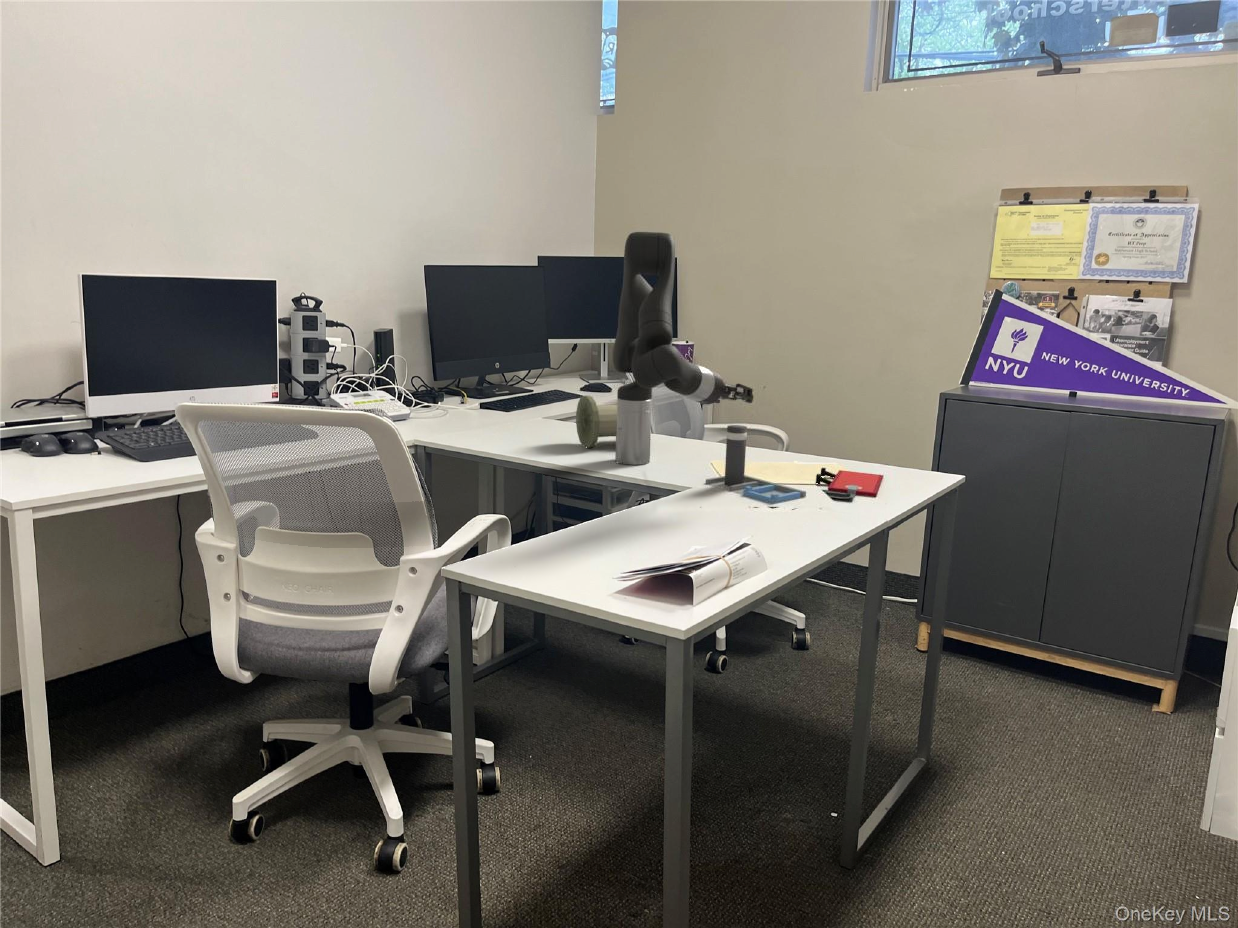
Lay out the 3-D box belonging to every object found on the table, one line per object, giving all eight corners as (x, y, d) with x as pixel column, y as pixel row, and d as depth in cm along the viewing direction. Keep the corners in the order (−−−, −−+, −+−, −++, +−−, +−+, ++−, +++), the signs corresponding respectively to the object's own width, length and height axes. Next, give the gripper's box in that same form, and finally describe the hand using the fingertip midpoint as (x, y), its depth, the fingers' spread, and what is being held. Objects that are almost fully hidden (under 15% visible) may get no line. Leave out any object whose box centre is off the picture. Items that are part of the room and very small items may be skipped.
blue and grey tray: (704, 488, 214) (704, 476, 213) (736, 482, 220) (737, 470, 220) (772, 508, 197) (773, 495, 196) (805, 501, 204) (806, 488, 203)
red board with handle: (806, 497, 208) (873, 506, 203) (808, 486, 207) (874, 494, 202) (824, 473, 235) (882, 480, 230) (825, 463, 235) (884, 469, 230)
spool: (593, 452, 253) (594, 400, 249) (575, 442, 266) (576, 392, 263) (646, 449, 259) (648, 398, 256) (626, 439, 272) (627, 391, 269)
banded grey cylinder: (726, 486, 211) (728, 428, 208) (722, 481, 216) (725, 424, 213) (745, 486, 211) (748, 428, 208) (741, 482, 216) (745, 425, 213)
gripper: (729, 366, 190) (763, 382, 203) (673, 367, 199) (710, 383, 212) (725, 400, 189) (760, 415, 202) (669, 401, 198) (706, 414, 211)
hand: (734, 398), depth 207 cm, fingers open, 8 cm apart
